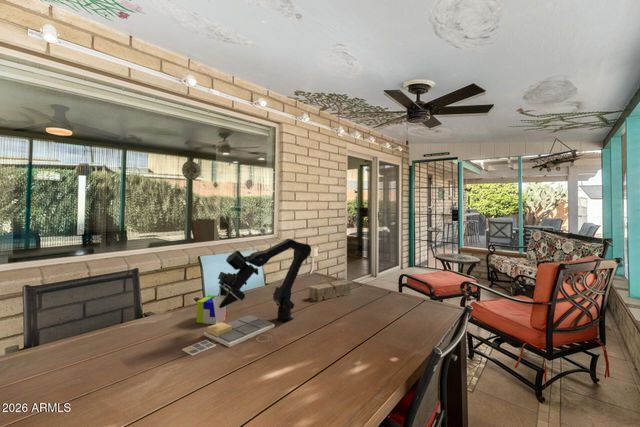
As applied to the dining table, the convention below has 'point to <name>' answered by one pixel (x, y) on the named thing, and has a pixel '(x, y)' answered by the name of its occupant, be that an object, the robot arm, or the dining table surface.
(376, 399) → the dining table surface
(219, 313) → the smoothie
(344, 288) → the tan stone block
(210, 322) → the puzzle toy
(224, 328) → the amber button
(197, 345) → the pattern card
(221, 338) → the button board
